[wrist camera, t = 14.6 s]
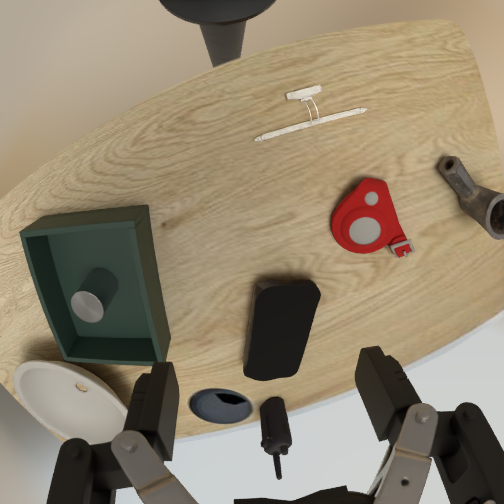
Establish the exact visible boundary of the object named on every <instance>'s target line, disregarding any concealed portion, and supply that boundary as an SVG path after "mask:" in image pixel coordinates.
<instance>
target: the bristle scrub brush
mask: <svg viewBox="0 0 504 504" xmlns="http://www.w3.org/2000/svg"><path fill="white" fill-rule="evenodd" d="M320 297H321V293H320V291H319V289H318V287H317V286H316V284H315V283H314V282H313V281H311V280H294V281H277V280H272V279H267V280H264V281H261V282H259V283H257V284H256V285H255V287H254V292H253V299H252V306H251V312H250V321H249V328H248V333H247V340H246V347H245V356H244V365H243V372H244V375H245V376H246V377H249V378H252V379H254V380H259V381H268V380H273V379H276V378H284V377H291V376H293V375H295V374H296V373H297V371H298V369H299V366H300V363H301V360H302V357H303V354H304V351H305V347H306V344H307V340H308V337H309V333H310V330H311V326H312V323H313V319H314V315H315V312H316V309H317V306H318V303H319V300H320Z"/></svg>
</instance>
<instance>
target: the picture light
mask: <svg viewBox="0 0 504 504" xmlns="http://www.w3.org/2000/svg"><path fill="white" fill-rule="evenodd" d="M321 91H322V89H321V86H320V85H318V86H314V87H310V88H306V89H302V90H298V91H294V92H290V93H287V94H286V96H287V99H288V100H290V99H301V100H300V101H301V102H305V101H308V100H312V97H310V96H313V95H315V94H317V93H318V92H321ZM312 102H313V103H314V101H313V100H312ZM305 104H306V105H307V103H306V102H305ZM314 105H315V103H314ZM307 107H308V105H307ZM315 107H316V105H315ZM308 110H309V113H310V117H311V120H310V121H307V122H303V123H300V124H296V125H293V126H289V127H286V128H283V129H279V130H276V131H273V132H270V133H266V134H262V137H261V136H258V137H257V138H255V139H254V141H262V139H263V140H267V139H269V138H273V137H276V136H279V135H282V134H286V133H289V132H292V131H296V130H299V129H303V128H306V127H310V126H313V125H317V124H320V123H324V122H328V121H332V120H335V119H339V118H343V117H347V116H351V115H355V114H361V113H363V112H365V111H366V110H368V109H367V108H356V109H353V110H349V111H345V112H341V113H337V114H333V115H329V116H325V117H321V118H319V114H318V110H317V107H316V110H317V114H318V118H317V119H314V120H312V116H311V112H310V109H309V107H308Z"/></svg>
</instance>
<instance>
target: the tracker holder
mask: <svg viewBox="0 0 504 504" xmlns="http://www.w3.org/2000/svg"><path fill="white" fill-rule="evenodd" d="M331 228H332V232H333V235H334V238H335V239H336V241H337V242H338V243H339V244H340V245H341V246H342V247H343V248H345V249H346V250H348V251H351V252H354V253H362V254H365V253H371V252H375V251H377V250H379V249H381V248H383V247H384V246H385V245H387V244H388V245H389V246H390V248H391V250H392V251H393V253H394V255H395V257H396V258H397V257H399V258H400V257H402V256H404V255H405V257H407V254H409V253H412V252H414V248H413V245H412V242H411V240H410V239H409V240H407V239H406V237H405V235H404V232H403V230H402V228H401V226H400V224H399V221H398V218H397V215H396V212H395V208H394V205H393V202H392V199H391V196H390V193H389V190H388V187H387V184H386V182H385V181H382V180H378V179H373V178H365V179H364V180H362V182H361V183H360V184H359V185H358V186H357V187H356V188H355V189H354V190H353V191H352V192H351V193H350V194H349V195H347V196H346V197H345V198H344V199H343V200H342V202H341V203H340V204H339V205H338V207H337V208H336V209H335V211H334V213H333V215H332V218H331ZM409 244H410V246H409ZM410 247H411V248H410Z"/></svg>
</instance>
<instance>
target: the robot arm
mask: <svg viewBox="0 0 504 504" xmlns="http://www.w3.org/2000/svg"><path fill="white" fill-rule="evenodd" d="M355 383H356V386H357V389H358V391H359V393H360V396H361V398H362V400H363V403H364V405H365V408H366V410H367V412H368V415H369V417H370V420H371V422H372V425H373V427H374V430H375V432H376V435H377V437H378V440H379V441H383V440H387V439H388V441H389V443H390V445H389V447H388V449H387V451H386V454H385V456H384V458H383V461H382V464H381V466H380V468H379V470H378V473H377V475H376V477H375V479H374V481H373V483H372V485H371V486H370V488H369V490H368V492H367V494H364V493H360V492H354V491H348V490H347V486H346V485H345V486H341V487H336V488H331V489H325V490H320V491H318V492H315V493H313V494H310V495H307V496H305V497H302V498H299V499H296V500H293V501H287V500H277V499H268V498H251V499H234V504H418V503H419V501H420V498H421V495H422V492H423V489H424V486H425V483H426V479H427V476H428V473H429V470H430V466H431V461H432V459H431V458H429V457H433V458H434V461H435V463H436V466H437V468H438V471H439V474H440V476H441V479H442V482H443V484H444V487H445V490H446V493H447V495H448V498H449V501H450V504H504V451H503V449H502V447H501V445H500V443H499V441H498V440H497V438H496V436H495V434H494V432H493V430H492V428H491V427H490V425H489V423H488V421H487V420H486V418H485V416H484V414H483V413H482V411H481V409H480V408H479V407H478V406H477V405H475V404H473V403H468V402H465V403H462V404H460V405H459V406H458V407H457V408H456V410H455V411H445V412H444V411H443V412H440V411H436V410H435V409H434V408H433V407H432V406H431V405H429V404H425V403H422V401H421V400H420V398H419V396H418V395H417V393H416V391H415V389H414V387H413V386H412V384H411V382H410V381H409V379H407V376H406V374H405V372H403V369H402V367H401V365H400V364H399V362H398V361H397V360H395V359H394V358H393V357H392V356H390V355H388V356H385V355H384V353H383V351H382V350H381V348H380V347H379V346H373V347H366V348H362V349H361V351H360V355H359V359H358V363H357V367H356V371H355ZM178 405H179V386H178V382H177V378H176V374H175V371H174V367H173V363H172V362H154V363H153V366H152V370H151V373H143V374H142V375H141V376H140V377H139V378H138V380H137V381H136V383H135V386H134V390H133V393H132V397H131V401H130V405H129V408H128V412H127V416H126V420H125V424H124V428H123V430H122V432H120V433H119V434H117V435H116V436H115V437H114V438H113V440H112V441H110V442H106V443H99V444H92V445H89V443H88V442H87V441H86V440H84V439H81V438H71V439H69V440H67V441H65V442H64V443H63V444H62V446H61V448H60V451H59V454H58V458H57V462H56V465H55V469H54V473H53V477H52V481H51V486H50V490H49V494H48V499H47V504H115V498H116V489H121V488H127V487H134V488H135V490H136V491H137V494H138V496H139V497H140V499H141V500H142V502H143V503H144V504H198V503H197V501H196V500H195V499H194V498H193V497H192V496H191V495H190V494H189V492H188V491H187V490H186V489H185V488H184V486H183V485H182V484H181V483H180V482H179V480H178V479H177V478H176V477H175V476H174V475H173V474H172V473H171V472H170V471H169V470H168V469H167V467H166V466H165V465H164V461H172V456H173V455H172V454H173V446H174V438H175V429H176V421H177V413H178Z"/></svg>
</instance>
